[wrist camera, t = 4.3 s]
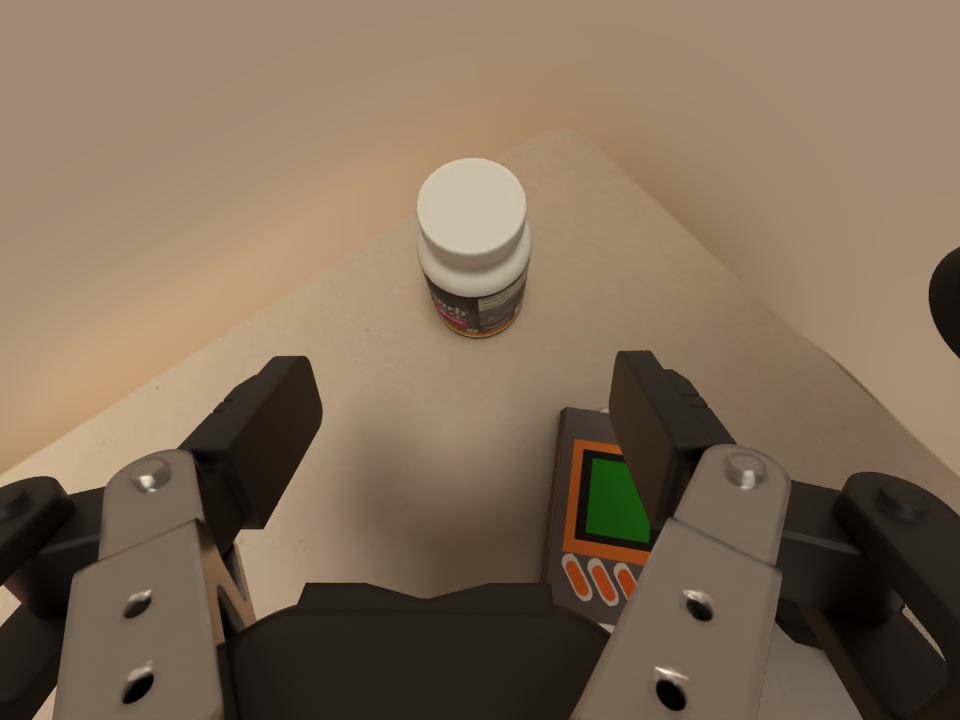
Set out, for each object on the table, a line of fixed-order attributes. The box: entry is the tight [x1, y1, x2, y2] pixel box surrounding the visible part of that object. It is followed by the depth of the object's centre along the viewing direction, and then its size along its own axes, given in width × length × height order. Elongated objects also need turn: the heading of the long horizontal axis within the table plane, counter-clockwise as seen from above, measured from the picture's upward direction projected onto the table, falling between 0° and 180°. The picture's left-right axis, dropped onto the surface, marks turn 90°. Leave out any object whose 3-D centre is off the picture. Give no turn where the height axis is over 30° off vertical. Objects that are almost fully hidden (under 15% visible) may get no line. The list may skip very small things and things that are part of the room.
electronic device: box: [541, 407, 662, 634], centre depth 22 cm, size 7×3×15 cm
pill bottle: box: [416, 158, 532, 337], centre depth 22 cm, size 6×6×10 cm
